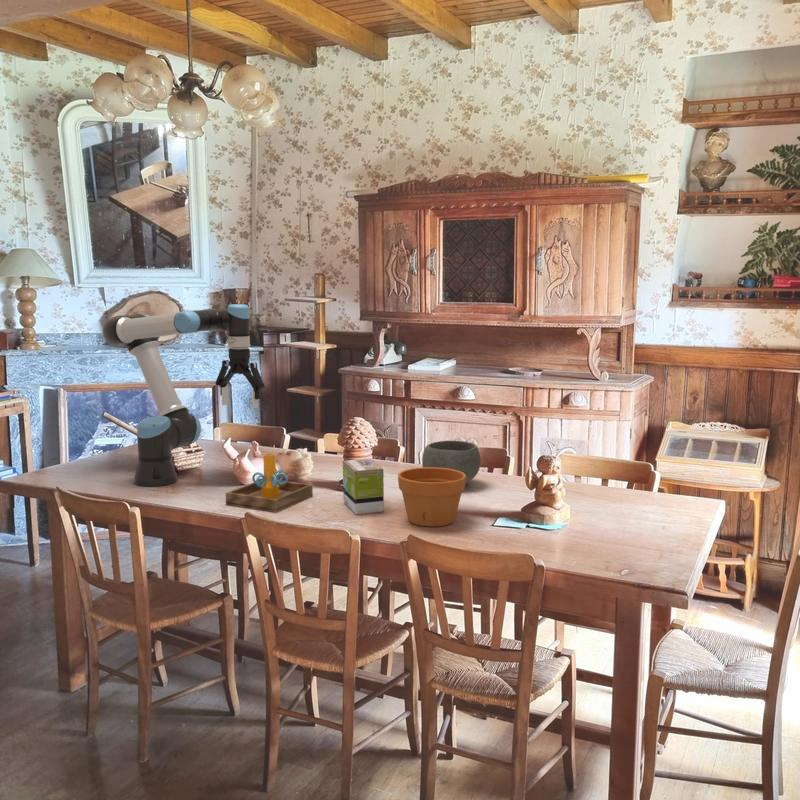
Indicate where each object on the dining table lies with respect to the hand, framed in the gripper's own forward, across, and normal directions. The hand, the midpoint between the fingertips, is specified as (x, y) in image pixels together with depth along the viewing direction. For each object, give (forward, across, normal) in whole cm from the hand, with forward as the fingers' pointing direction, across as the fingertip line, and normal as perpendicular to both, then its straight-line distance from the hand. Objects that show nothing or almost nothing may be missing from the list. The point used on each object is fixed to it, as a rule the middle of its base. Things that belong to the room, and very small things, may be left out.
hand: (240, 406), depth 302 cm
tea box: (+28, +55, -7) cm, 62 cm away
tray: (+28, +24, -15) cm, 39 cm away
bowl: (+28, +70, +32) cm, 82 cm away
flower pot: (+27, +81, -10) cm, 86 cm away
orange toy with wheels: (+27, +24, -15) cm, 39 cm away
